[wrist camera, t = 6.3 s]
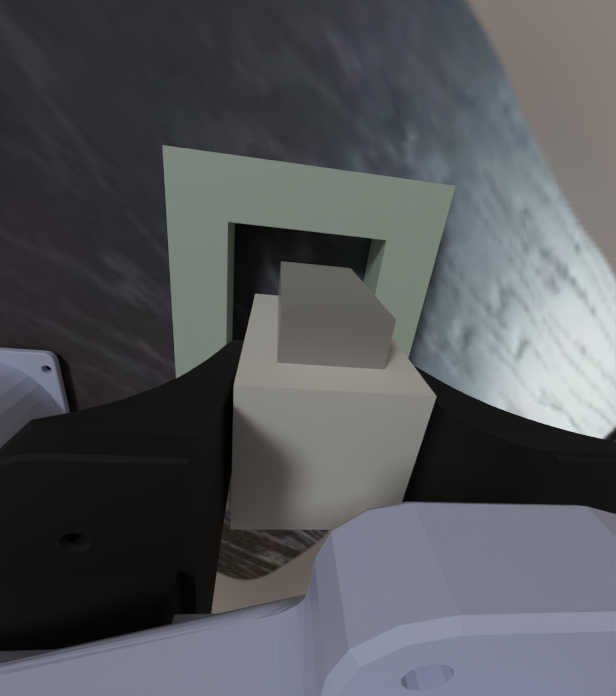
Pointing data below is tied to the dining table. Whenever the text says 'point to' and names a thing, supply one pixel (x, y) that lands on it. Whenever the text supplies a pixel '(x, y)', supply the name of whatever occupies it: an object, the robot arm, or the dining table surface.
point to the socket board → (290, 213)
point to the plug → (322, 405)
